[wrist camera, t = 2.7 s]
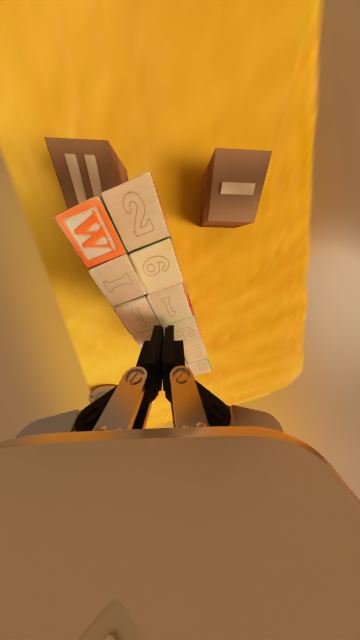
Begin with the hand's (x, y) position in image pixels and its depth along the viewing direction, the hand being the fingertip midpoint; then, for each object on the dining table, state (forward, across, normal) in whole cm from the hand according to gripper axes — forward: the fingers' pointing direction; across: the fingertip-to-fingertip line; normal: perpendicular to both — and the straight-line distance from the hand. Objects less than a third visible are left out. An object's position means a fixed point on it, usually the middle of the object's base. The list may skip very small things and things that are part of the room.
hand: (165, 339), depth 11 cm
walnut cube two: (+13, +7, -12) cm, 19 cm away
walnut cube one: (+13, -7, -12) cm, 19 cm away
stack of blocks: (+13, 0, +1) cm, 13 cm away
